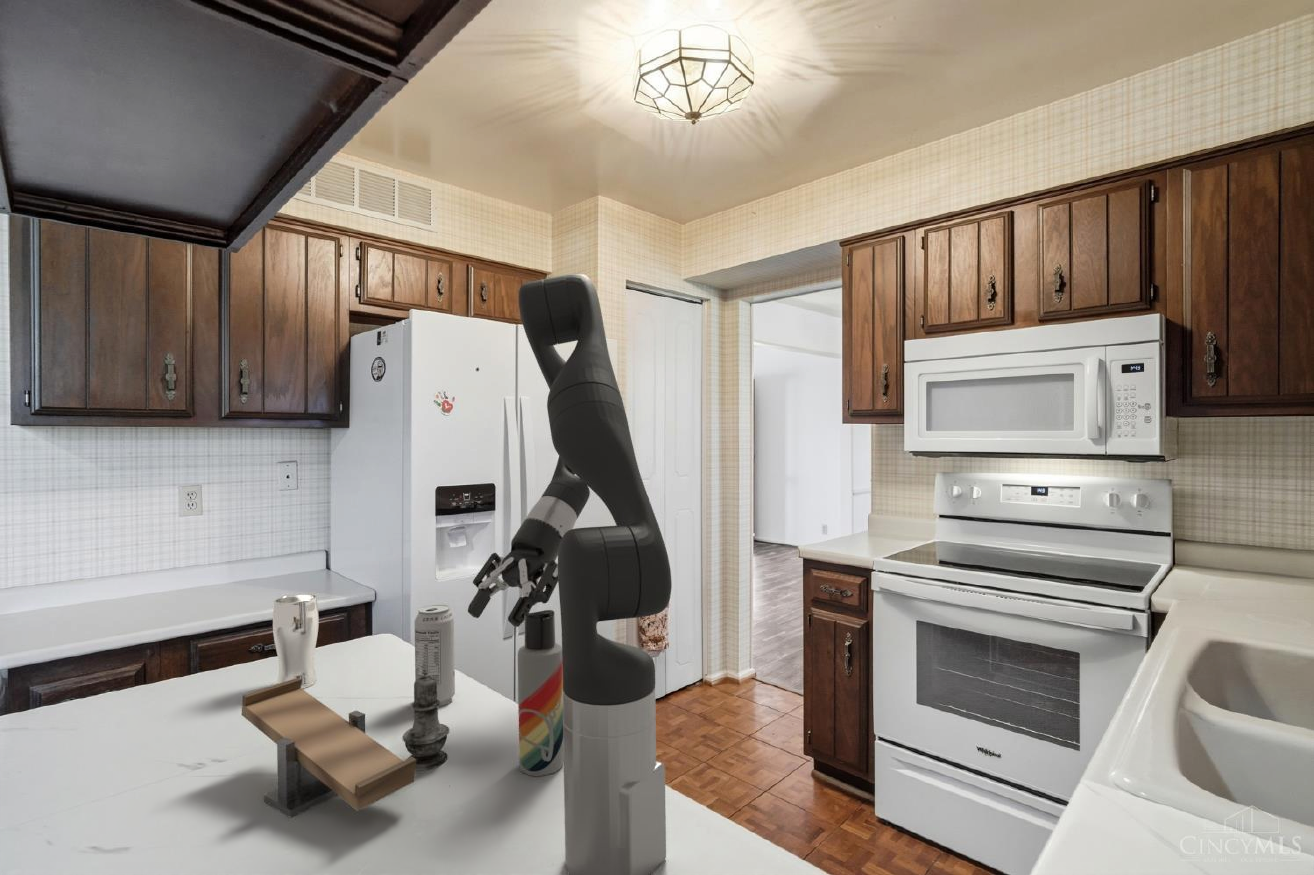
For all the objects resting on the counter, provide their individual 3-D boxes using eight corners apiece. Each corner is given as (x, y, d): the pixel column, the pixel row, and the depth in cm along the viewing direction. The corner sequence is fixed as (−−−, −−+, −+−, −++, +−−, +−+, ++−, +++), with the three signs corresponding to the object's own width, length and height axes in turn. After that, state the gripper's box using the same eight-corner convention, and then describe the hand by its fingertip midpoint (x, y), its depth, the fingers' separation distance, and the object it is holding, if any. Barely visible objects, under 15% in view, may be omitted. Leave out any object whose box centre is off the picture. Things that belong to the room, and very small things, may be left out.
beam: (414, 781, 75) (416, 759, 75) (357, 811, 69) (359, 787, 69) (296, 696, 89) (298, 677, 89) (241, 714, 83) (242, 694, 83)
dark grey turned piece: (434, 773, 82) (433, 678, 82) (393, 769, 83) (391, 675, 83) (458, 751, 88) (456, 662, 88) (418, 747, 89) (417, 660, 89)
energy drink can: (463, 698, 106) (461, 606, 106) (433, 712, 100) (432, 615, 100) (437, 691, 109) (436, 602, 109) (407, 704, 103) (406, 610, 103)
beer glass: (282, 678, 115) (281, 594, 115) (324, 675, 117) (323, 592, 117) (266, 693, 109) (265, 604, 109) (311, 690, 110) (310, 602, 110)
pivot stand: (379, 774, 82) (378, 715, 82) (290, 817, 73) (289, 751, 73) (352, 761, 85) (351, 705, 85) (263, 801, 76) (263, 738, 76)
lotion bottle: (529, 781, 80) (527, 619, 80) (512, 762, 84) (510, 609, 84) (571, 768, 83) (569, 611, 83) (553, 750, 87) (550, 602, 87)
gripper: (501, 514, 106) (445, 599, 97) (567, 519, 98) (513, 612, 89) (525, 541, 111) (473, 625, 101) (590, 548, 103) (540, 640, 93)
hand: (492, 619), depth 95 cm, fingers open, 8 cm apart
